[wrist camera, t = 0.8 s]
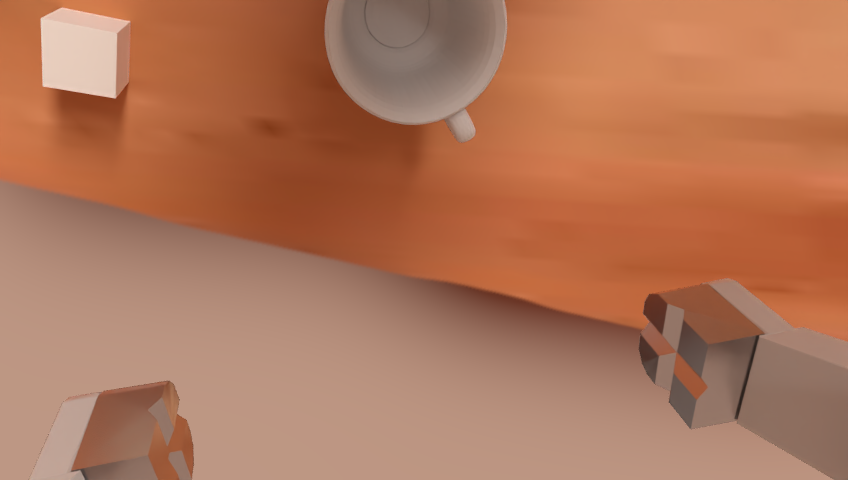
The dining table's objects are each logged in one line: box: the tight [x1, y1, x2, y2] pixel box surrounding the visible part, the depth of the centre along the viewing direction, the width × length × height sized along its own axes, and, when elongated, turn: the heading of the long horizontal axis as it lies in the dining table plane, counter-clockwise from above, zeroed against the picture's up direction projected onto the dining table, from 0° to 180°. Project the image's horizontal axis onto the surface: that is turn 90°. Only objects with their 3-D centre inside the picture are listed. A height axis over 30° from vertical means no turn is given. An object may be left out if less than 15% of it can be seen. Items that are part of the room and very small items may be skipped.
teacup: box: [324, 0, 507, 143], centre depth 45 cm, size 12×15×10 cm
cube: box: [41, 8, 131, 98], centre depth 43 cm, size 4×4×4 cm
